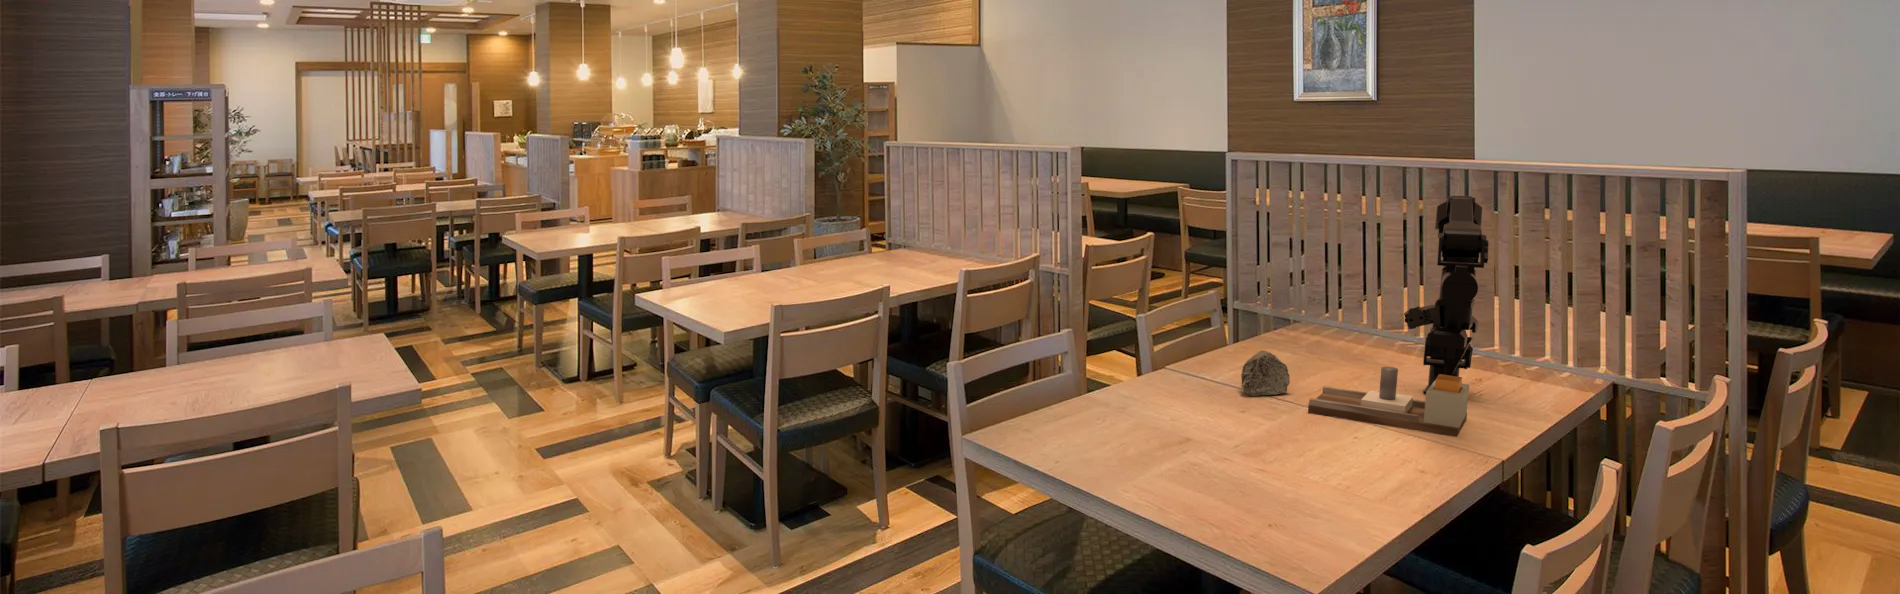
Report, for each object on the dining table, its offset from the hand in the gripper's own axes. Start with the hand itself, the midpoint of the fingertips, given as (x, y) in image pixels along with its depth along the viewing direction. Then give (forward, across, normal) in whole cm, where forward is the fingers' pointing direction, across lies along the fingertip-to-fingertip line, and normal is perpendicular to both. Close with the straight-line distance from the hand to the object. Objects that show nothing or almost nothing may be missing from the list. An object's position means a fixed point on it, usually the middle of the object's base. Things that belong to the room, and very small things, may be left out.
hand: (1449, 374), depth 185 cm
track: (+10, 0, -10) cm, 15 cm away
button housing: (+9, 0, 0) cm, 9 cm away
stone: (+10, -4, -36) cm, 38 cm away
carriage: (+8, 0, -11) cm, 13 cm away
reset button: (+6, 0, 0) cm, 6 cm away
